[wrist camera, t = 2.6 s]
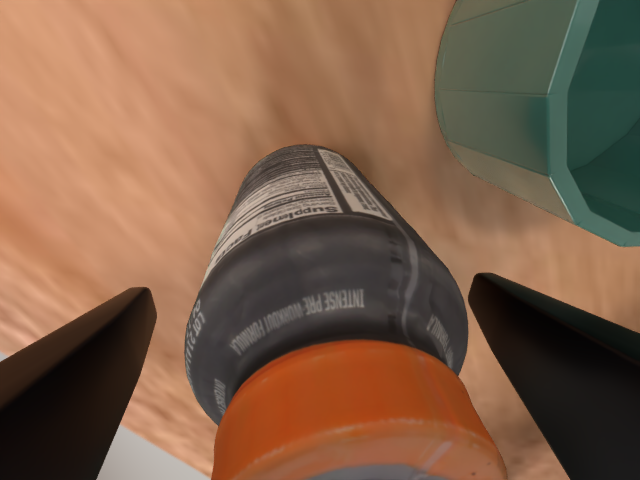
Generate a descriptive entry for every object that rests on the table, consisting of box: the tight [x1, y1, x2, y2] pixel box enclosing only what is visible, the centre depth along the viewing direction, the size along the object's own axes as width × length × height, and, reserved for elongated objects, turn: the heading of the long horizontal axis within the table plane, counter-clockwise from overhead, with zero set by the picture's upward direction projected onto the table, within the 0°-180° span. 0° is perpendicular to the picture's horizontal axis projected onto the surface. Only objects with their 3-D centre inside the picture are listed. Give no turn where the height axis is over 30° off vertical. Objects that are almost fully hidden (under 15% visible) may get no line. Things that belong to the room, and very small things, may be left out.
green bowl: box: [435, 0, 640, 247], centre depth 10 cm, size 10×10×6 cm
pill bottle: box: [184, 145, 507, 480], centre depth 9 cm, size 6×6×11 cm
